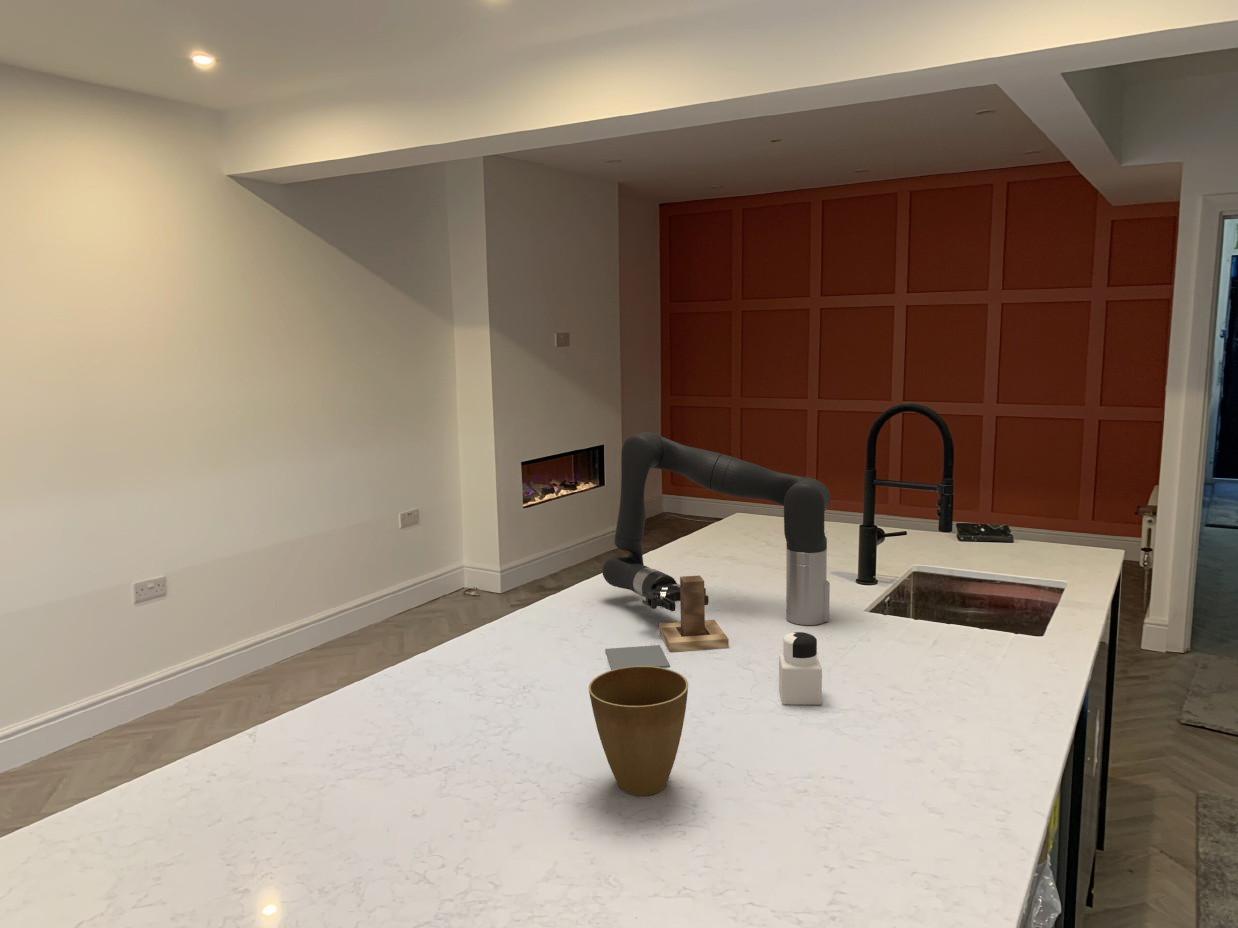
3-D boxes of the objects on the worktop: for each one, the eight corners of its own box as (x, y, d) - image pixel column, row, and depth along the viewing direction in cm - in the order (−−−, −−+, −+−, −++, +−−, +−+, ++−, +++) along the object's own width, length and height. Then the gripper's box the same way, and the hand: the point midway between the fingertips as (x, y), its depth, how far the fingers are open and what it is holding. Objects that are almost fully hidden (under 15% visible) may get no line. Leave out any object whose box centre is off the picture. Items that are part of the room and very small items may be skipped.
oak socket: (714, 627, 200) (714, 619, 200) (728, 647, 187) (728, 638, 187) (659, 631, 198) (658, 623, 198) (669, 651, 186) (669, 642, 185)
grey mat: (659, 646, 189) (659, 644, 189) (670, 667, 177) (670, 665, 177) (605, 650, 188) (605, 648, 187) (611, 671, 176) (611, 669, 176)
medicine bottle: (816, 689, 164) (817, 628, 163) (821, 705, 157) (822, 642, 156) (778, 689, 165) (778, 628, 163) (782, 704, 158) (782, 642, 156)
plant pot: (632, 751, 142) (630, 658, 139) (708, 778, 132) (707, 679, 130) (571, 789, 130) (567, 688, 128) (649, 822, 121) (647, 714, 119)
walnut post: (700, 635, 195) (699, 575, 193) (705, 642, 191) (704, 580, 189) (680, 636, 195) (680, 576, 193) (685, 643, 190) (684, 582, 188)
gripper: (628, 575, 203) (662, 592, 189) (680, 566, 209) (717, 582, 195) (628, 606, 204) (663, 625, 190) (680, 596, 210) (717, 614, 196)
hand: (690, 603), depth 192 cm, fingers open, 8 cm apart
